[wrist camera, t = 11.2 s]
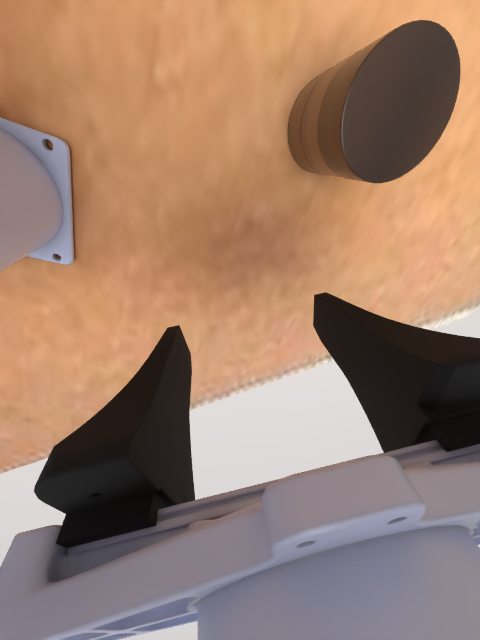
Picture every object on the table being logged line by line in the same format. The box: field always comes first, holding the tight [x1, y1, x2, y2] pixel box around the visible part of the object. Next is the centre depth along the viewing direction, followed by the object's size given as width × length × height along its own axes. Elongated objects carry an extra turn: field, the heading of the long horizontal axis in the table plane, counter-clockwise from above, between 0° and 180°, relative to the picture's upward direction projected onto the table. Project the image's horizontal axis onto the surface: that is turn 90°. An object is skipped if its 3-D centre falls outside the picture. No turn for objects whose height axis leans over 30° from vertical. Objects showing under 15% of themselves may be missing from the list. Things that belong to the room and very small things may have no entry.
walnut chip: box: [318, 20, 460, 183], centre depth 11 cm, size 5×5×2 cm
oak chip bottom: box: [288, 67, 333, 175], centre depth 15 cm, size 5×5×2 cm
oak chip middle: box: [301, 51, 359, 177], centre depth 13 cm, size 5×5×2 cm
